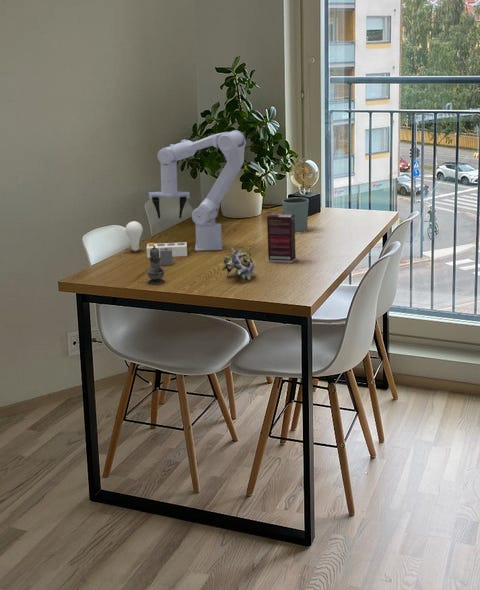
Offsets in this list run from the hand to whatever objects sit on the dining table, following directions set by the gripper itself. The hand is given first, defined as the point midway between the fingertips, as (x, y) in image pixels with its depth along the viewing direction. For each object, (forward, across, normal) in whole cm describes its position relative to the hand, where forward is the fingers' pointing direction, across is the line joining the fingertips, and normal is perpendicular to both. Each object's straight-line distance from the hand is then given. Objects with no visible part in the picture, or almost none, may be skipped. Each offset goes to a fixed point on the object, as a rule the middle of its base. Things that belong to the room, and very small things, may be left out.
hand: (169, 217), depth 325 cm
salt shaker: (+10, -4, -46) cm, 48 cm away
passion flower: (+9, +22, -46) cm, 52 cm away
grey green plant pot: (+9, +48, +14) cm, 51 cm away
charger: (+10, -1, -25) cm, 27 cm away
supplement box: (+9, +38, -28) cm, 48 cm away
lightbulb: (+11, -12, -7) cm, 18 cm away
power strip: (+10, -1, -14) cm, 17 cm away
